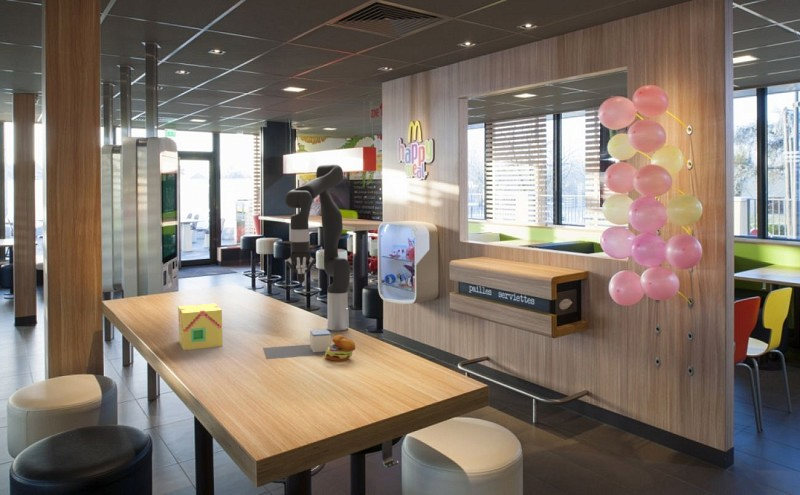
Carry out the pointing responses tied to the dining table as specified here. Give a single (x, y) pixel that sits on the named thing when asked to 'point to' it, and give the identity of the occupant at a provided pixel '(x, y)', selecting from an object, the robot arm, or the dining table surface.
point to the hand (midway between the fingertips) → (301, 282)
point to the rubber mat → (290, 351)
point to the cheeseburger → (340, 349)
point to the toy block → (200, 326)
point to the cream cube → (320, 340)
